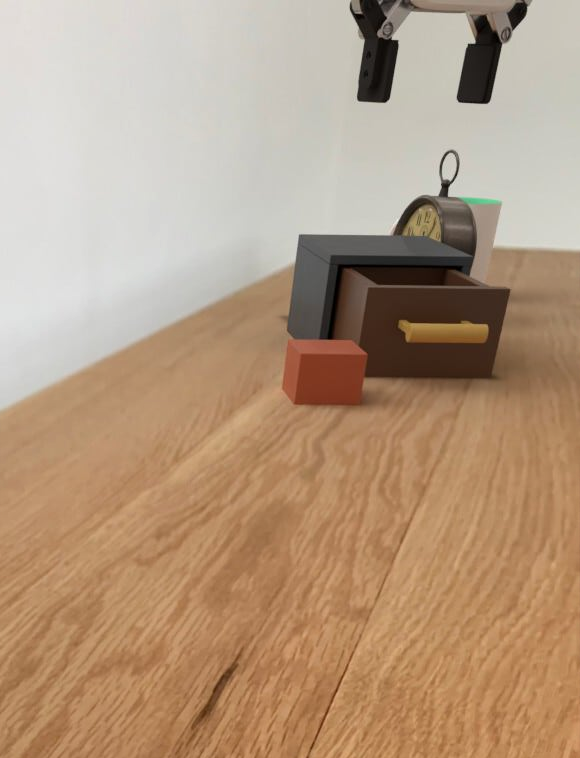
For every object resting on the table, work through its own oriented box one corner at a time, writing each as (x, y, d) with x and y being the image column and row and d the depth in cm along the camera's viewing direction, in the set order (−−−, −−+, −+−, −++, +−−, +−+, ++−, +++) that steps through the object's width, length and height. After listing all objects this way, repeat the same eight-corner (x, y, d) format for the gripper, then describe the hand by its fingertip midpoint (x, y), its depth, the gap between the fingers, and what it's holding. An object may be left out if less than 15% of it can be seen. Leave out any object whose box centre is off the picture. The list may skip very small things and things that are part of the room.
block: (341, 404, 89) (352, 340, 86) (357, 421, 85) (368, 354, 82) (279, 403, 89) (288, 339, 86) (291, 420, 85) (300, 353, 82)
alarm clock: (376, 308, 125) (403, 146, 117) (420, 307, 126) (450, 146, 118) (423, 327, 116) (456, 153, 107) (470, 326, 117) (506, 153, 108)
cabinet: (452, 363, 102) (473, 256, 97) (315, 361, 102) (330, 254, 97) (408, 331, 114) (426, 235, 109) (286, 330, 114) (298, 234, 109)
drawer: (508, 395, 88) (531, 298, 85) (366, 393, 88) (382, 296, 85) (441, 348, 103) (458, 264, 99) (319, 347, 103) (331, 262, 99)
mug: (371, 296, 132) (387, 199, 127) (384, 286, 138) (400, 193, 133) (477, 305, 128) (497, 205, 122) (485, 294, 134) (505, 199, 128)
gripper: (410, -205, 71) (362, 103, 80) (610, -179, 77) (544, 105, 86) (339, -186, 77) (301, 99, 86) (530, -163, 83) (476, 101, 92)
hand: (423, 102), depth 86 cm, fingers open, 9 cm apart
